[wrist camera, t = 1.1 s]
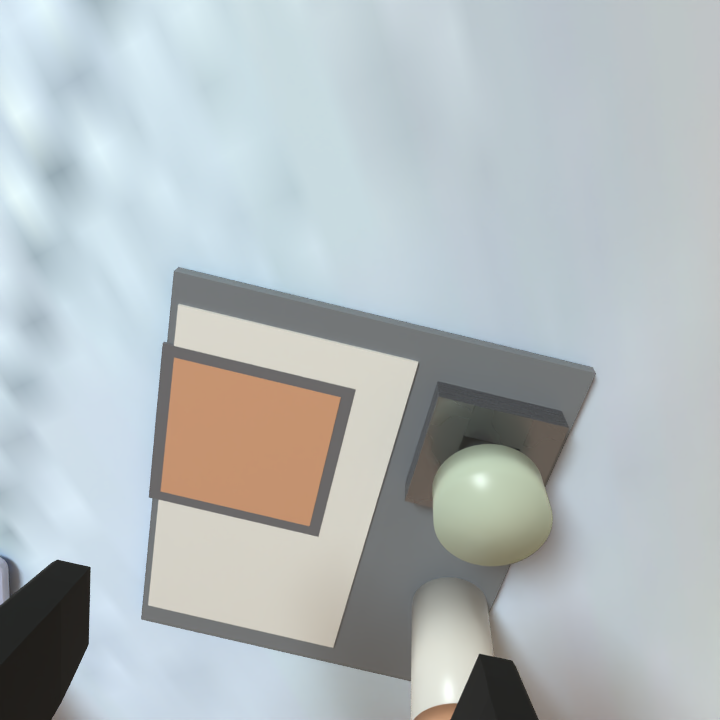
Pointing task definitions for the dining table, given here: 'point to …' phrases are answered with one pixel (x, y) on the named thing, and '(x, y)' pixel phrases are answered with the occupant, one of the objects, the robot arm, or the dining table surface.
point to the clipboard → (309, 469)
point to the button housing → (480, 433)
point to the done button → (490, 505)
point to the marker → (445, 644)
